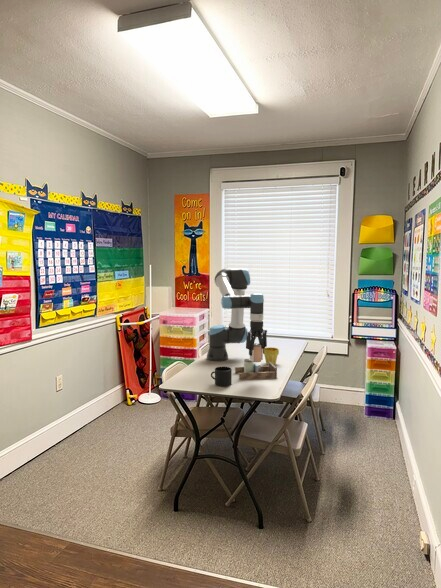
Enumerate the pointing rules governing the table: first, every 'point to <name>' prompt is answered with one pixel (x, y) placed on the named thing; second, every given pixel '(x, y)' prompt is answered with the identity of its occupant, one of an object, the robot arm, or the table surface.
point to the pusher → (256, 367)
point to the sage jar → (248, 366)
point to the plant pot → (271, 354)
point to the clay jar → (257, 352)
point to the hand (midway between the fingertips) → (256, 359)
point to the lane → (262, 373)
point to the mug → (222, 376)
